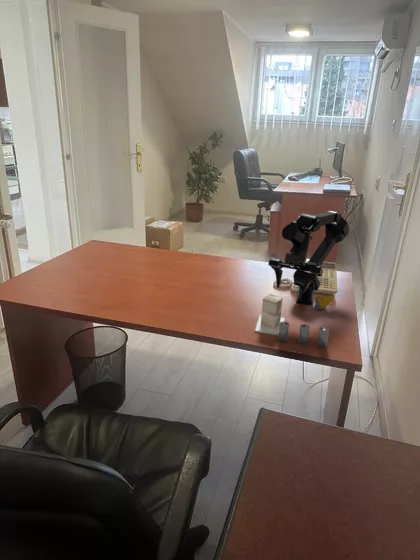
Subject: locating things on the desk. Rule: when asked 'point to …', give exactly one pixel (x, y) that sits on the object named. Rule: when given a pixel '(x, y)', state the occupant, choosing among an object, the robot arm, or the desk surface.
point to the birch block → (271, 311)
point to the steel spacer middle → (304, 334)
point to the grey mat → (265, 329)
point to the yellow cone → (323, 302)
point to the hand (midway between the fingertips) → (290, 290)
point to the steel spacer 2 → (323, 337)
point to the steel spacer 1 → (283, 331)
